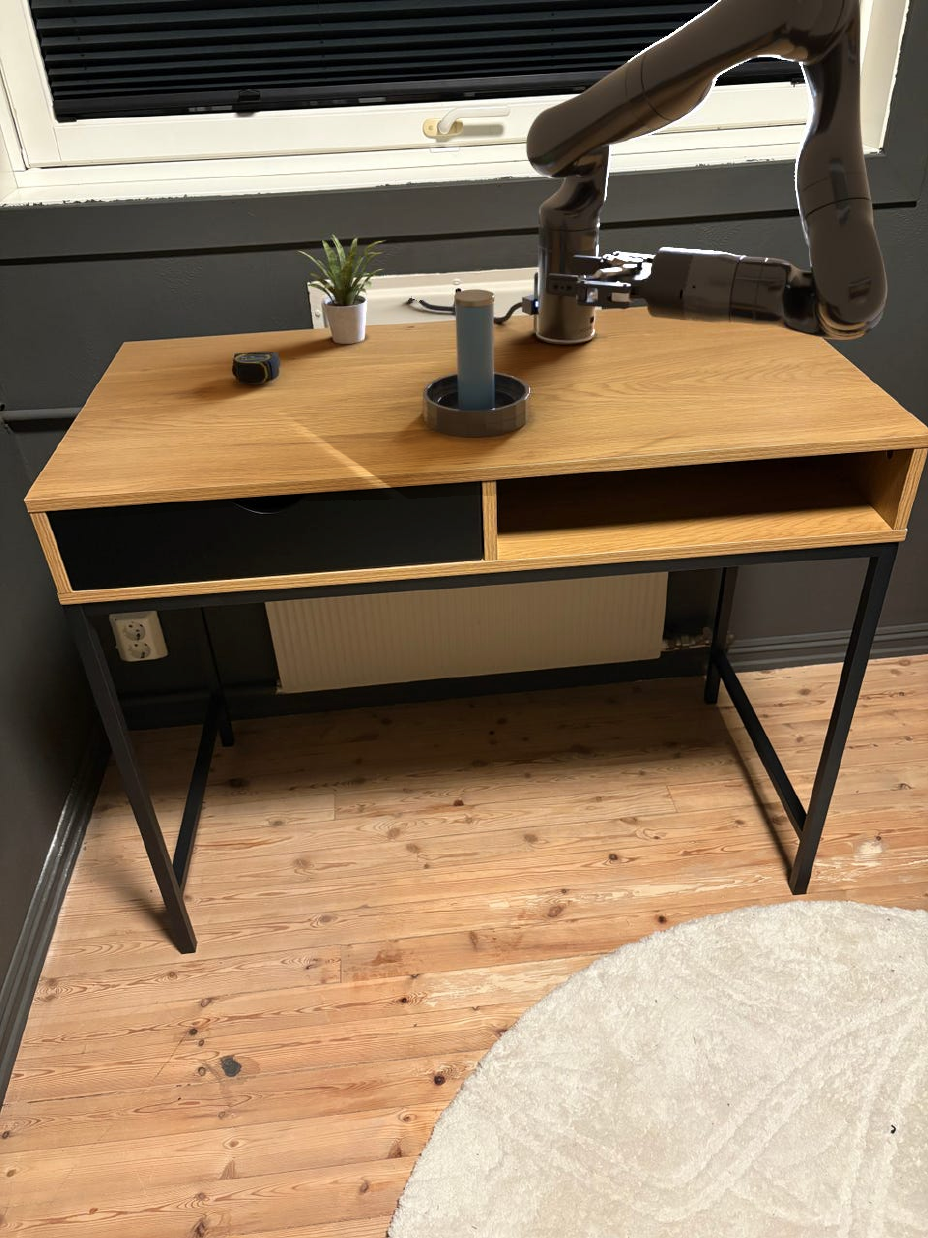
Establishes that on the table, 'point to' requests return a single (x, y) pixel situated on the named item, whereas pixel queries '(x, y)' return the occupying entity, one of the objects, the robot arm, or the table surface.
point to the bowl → (476, 423)
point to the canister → (475, 349)
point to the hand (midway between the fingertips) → (559, 273)
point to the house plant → (345, 293)
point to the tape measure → (256, 367)
